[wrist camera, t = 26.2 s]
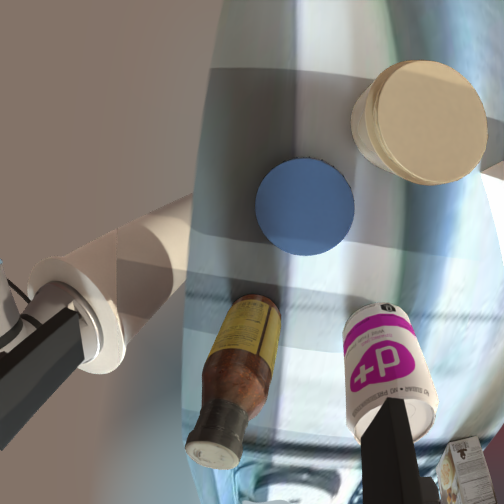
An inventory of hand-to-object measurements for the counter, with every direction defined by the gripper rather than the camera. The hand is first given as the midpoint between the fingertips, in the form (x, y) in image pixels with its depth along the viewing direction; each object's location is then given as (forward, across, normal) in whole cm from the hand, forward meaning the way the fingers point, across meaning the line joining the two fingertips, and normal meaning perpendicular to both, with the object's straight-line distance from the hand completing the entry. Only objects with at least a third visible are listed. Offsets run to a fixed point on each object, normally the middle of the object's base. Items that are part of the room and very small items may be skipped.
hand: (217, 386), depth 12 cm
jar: (+23, +9, +13) cm, 28 cm away
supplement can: (+23, +14, -9) cm, 28 cm away
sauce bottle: (+23, 0, -11) cm, 26 cm away
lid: (+21, +2, +3) cm, 21 cm away
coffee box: (+23, +41, -32) cm, 57 cm away
